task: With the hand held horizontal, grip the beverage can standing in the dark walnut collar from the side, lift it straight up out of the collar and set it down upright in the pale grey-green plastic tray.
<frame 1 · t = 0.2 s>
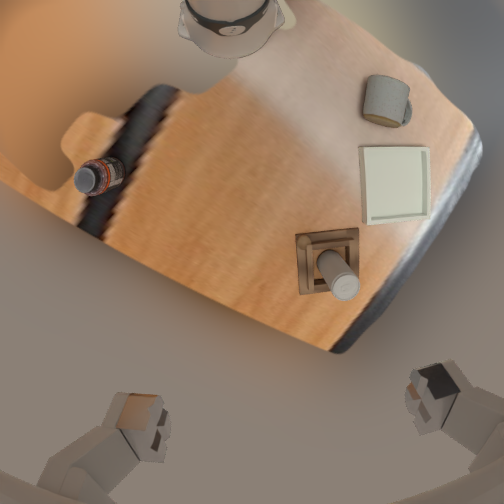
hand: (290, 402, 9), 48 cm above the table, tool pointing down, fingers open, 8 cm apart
beverage can: (328, 260, 59), resting in walnut collar
tray: (394, 183, 54), on the table
ceramic mug: (383, 105, 49), on the table
walnut collar: (328, 261, 59), on the table
supplement bottle: (112, 172, 52), on the table
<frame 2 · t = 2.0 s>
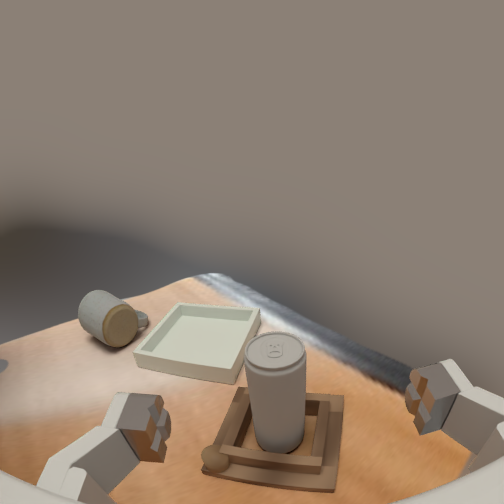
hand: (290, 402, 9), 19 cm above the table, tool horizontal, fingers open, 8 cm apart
beverage can: (279, 438, 27), resting in walnut collar
tray: (202, 344, 43), on the table
ceramic mug: (121, 335, 47), on the table
walnut collar: (279, 437, 27), on the table
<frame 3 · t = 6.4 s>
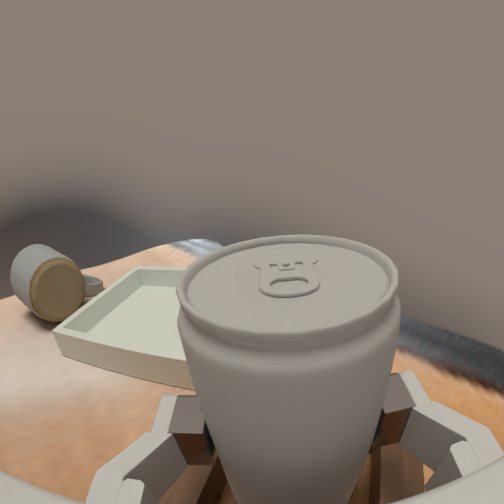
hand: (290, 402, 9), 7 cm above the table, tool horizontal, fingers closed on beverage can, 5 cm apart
tray: (162, 324, 27), on the table
ceramic mug: (66, 308, 32), on the table
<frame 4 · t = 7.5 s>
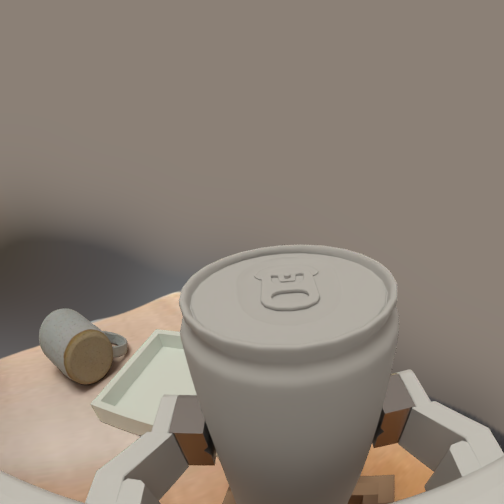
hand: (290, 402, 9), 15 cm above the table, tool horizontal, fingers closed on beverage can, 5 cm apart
tray: (187, 391, 30), on the table
ceramic mug: (94, 365, 35), on the table
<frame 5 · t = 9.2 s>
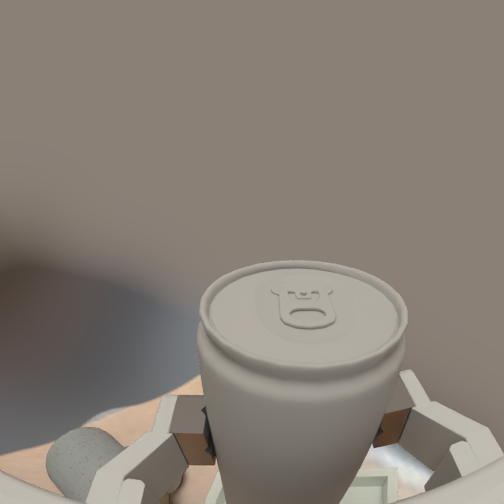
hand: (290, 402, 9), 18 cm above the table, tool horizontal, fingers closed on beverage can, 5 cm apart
ceramic mug: (134, 495, 20), on the table
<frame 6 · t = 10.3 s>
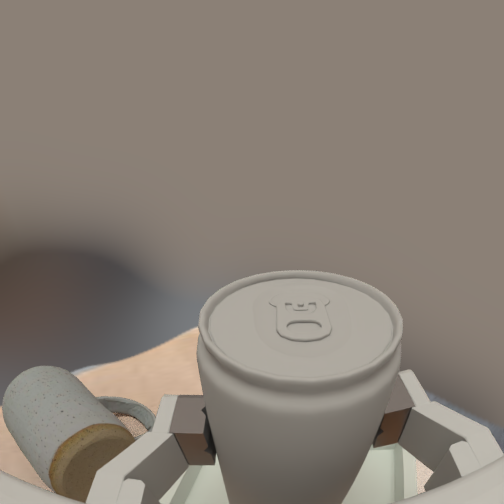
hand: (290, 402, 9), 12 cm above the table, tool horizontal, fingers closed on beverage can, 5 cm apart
ceramic mug: (102, 456, 18), on the table
when the fingers open (9 cm above the table, at t = 11.2 s): beverage can moves 1 cm, resting on tray.
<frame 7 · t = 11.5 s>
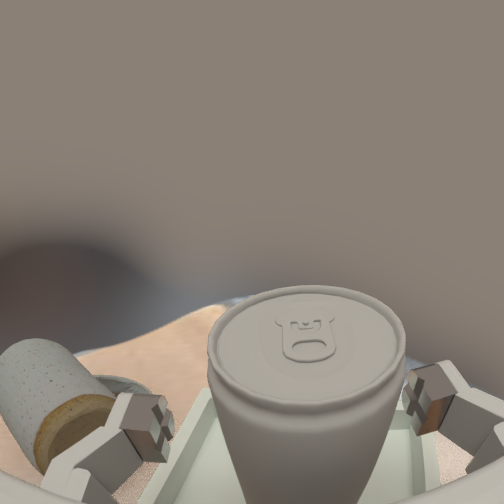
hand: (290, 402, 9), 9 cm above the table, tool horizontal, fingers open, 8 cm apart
ceramic mug: (96, 439, 17), on the table
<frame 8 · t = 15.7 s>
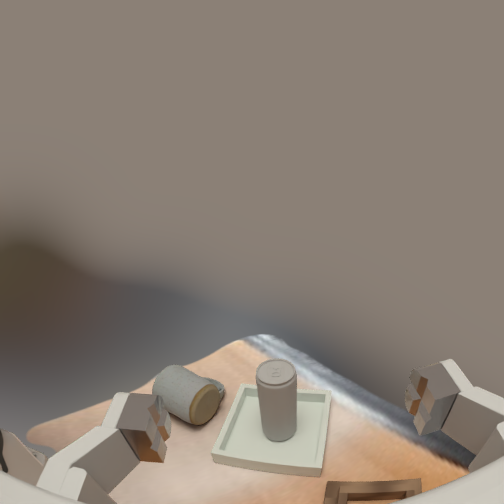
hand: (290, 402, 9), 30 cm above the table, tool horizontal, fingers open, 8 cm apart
beverage can: (279, 430, 39), resting on tray
tray: (277, 432, 39), on the table
ceramic mug: (196, 406, 45), on the table
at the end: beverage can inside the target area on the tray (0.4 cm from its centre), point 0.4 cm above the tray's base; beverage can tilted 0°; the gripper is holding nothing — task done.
